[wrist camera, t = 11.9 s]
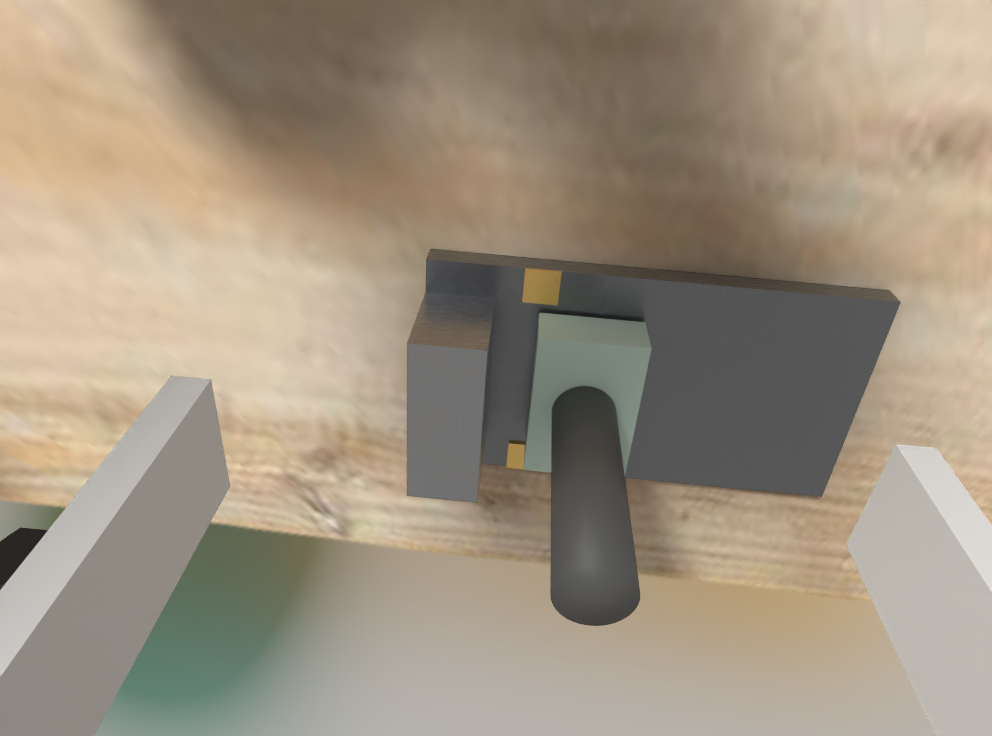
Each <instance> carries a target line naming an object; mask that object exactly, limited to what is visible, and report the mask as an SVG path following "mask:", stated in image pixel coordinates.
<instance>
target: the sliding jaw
mask: <svg viewBox="0 0 992 736" xmlns="http://www.w3.org/2000/svg"><path fill="white" fill-rule="evenodd" d="M651 350H652V348H651V344H650V339H649V335H648V331H647V327H646V323H645V322H636V321H625V320H614V319H603V318H592V317H581V316H571V315H560V314H549V313H539V320H538V329H537V338H536V347H535V356H534V365H533V374H532V383H531V392H530V401H529V410H528V419H527V428H526V437H525V452H524V470H529V471H539V472H550V473H551V600H552V603H553V605H554V607H555V608H556V610H557V611H558V612H559V613H560V614H561V615H563V616H564V617H565V618H567V619H569V620H571V621H573V622H577V623H579V624H584V625H594V626H599V625H608V624H612V623H615V622H618V621H620V620H622V619H624V618H626V617H627V616H629V615H630V614H631V613H632V612H633V611H634V610H635V609H636V607H637V605H638V603H639V600H640V589H639V581H638V573H637V566H636V558H635V551H634V543H633V535H632V528H631V520H630V513H629V505H628V497H627V490H626V482H625V473H626V469H627V464H628V459H629V454H630V450H631V445H632V440H633V435H634V430H635V426H636V421H637V416H638V411H639V407H640V402H641V397H642V392H643V388H644V383H645V378H646V373H647V369H648V364H649V359H650V354H651Z"/></svg>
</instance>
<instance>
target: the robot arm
mask: <svg viewBox="0 0 992 736" xmlns="http://www.w3.org/2000/svg"><path fill="white" fill-rule="evenodd" d="M229 487H230V483H229V477H228V471H227V466H226V460H225V455H224V449H223V443H222V438H221V432H220V427H219V421H218V415H217V410H216V404H215V399H214V393H213V388H212V382H211V379H201V378H191V377H180V376H171V377H170V378H169V379H168V381H167V382H166V383H165V384H164V386H163V387H162V388H161V389H160V391H159V392H158V393H157V395H156V396H155V397H154V398H153V400H152V401H151V402H150V403H149V405H148V406H147V407H146V408H145V410H144V411H143V412H142V413H141V415H140V416H139V417H138V418H137V420H136V421H135V422H134V423H133V425H132V426H131V427H130V428H129V430H128V431H127V432H126V433H125V435H124V436H123V437H122V438H121V440H120V441H119V442H118V443H117V445H116V446H115V447H114V448H113V450H112V451H111V452H110V453H109V455H108V456H107V457H106V458H105V460H104V461H103V462H102V463H101V465H100V466H99V467H98V468H97V470H96V471H95V472H94V473H93V475H92V476H91V477H90V478H89V480H88V481H87V482H86V483H85V485H84V486H83V487H82V488H81V490H80V491H79V492H78V494H77V495H76V496H75V497H74V499H73V500H72V501H71V502H70V504H69V505H68V506H67V507H66V509H65V510H64V511H63V512H62V514H61V515H60V516H59V517H58V519H57V520H56V521H55V522H54V524H53V525H52V526H51V527H50V529H49V530H39V529H29V528H20V529H18V530H16V531H15V532H13V533H12V534H10V535H9V536H7V537H6V538H5V539H3V540H2V541H1V542H0V736H94V735H95V733H96V731H97V729H98V727H99V725H100V724H101V722H102V720H103V718H104V716H105V715H106V713H107V711H108V709H109V707H110V705H111V703H112V702H113V700H114V698H115V696H116V694H117V693H118V691H119V689H120V687H121V685H122V683H123V682H124V680H125V678H126V676H127V674H128V672H129V670H130V669H131V667H132V665H133V663H134V661H135V659H136V658H137V656H138V654H139V652H140V650H141V649H142V647H143V645H144V643H145V641H146V639H147V637H148V636H149V634H150V632H151V630H152V628H153V626H154V625H155V623H156V621H157V619H158V617H159V615H160V614H161V612H162V610H163V608H164V606H165V604H166V603H167V601H168V599H169V597H170V595H171V593H172V592H173V590H174V588H175V586H176V584H177V582H178V581H179V579H180V577H181V575H182V573H183V571H184V570H185V568H186V566H187V564H188V562H189V560H190V559H191V557H192V555H193V553H194V551H195V549H196V547H197V546H198V544H199V542H200V540H201V538H202V537H203V535H204V533H205V531H206V529H207V527H208V526H209V524H210V522H211V520H212V518H213V516H214V515H215V513H216V511H217V509H218V507H219V505H220V504H221V502H222V500H223V498H224V496H225V494H226V493H227V491H228V489H229ZM846 546H847V548H848V551H849V553H850V555H851V557H852V559H853V561H854V563H855V566H856V568H857V570H858V572H859V574H860V576H861V578H862V581H863V583H864V585H865V587H866V589H867V591H868V593H869V595H870V598H871V600H872V602H873V604H874V606H875V608H876V610H877V612H878V615H879V617H880V619H881V621H882V623H883V625H884V628H885V630H886V632H887V633H888V636H889V638H890V640H891V642H892V645H893V647H894V649H895V651H896V653H897V655H898V657H899V660H900V662H901V664H902V666H903V668H904V670H905V672H906V675H907V677H908V679H909V681H910V683H911V685H912V687H913V689H914V692H915V694H916V696H917V698H918V700H919V702H920V704H921V706H922V709H923V711H924V713H925V715H926V717H927V719H928V722H929V724H930V726H931V728H932V730H933V732H934V734H935V736H992V525H991V524H990V522H989V521H988V520H987V518H986V517H985V515H984V514H983V513H982V511H981V510H980V508H979V507H978V506H977V504H976V503H975V501H974V500H973V499H972V497H971V496H970V494H969V493H968V492H967V490H966V489H965V488H964V486H963V485H962V483H961V482H960V481H959V479H958V478H957V476H956V475H955V474H954V472H953V471H952V469H951V468H950V467H949V465H948V464H947V462H946V461H945V460H944V458H943V457H942V455H941V454H940V453H939V451H938V450H937V449H936V448H931V447H921V446H910V445H899V444H896V445H895V447H894V449H893V451H892V453H891V455H890V457H889V459H888V461H887V463H886V465H885V467H884V469H883V471H882V473H881V475H880V477H879V479H878V481H877V483H876V485H875V487H874V489H873V491H872V493H871V495H870V497H869V499H868V501H867V503H866V506H865V508H864V510H863V512H862V514H861V516H860V518H859V520H858V522H857V524H856V526H855V528H854V530H853V532H852V534H851V536H850V538H849V540H848V542H847V544H846Z"/></svg>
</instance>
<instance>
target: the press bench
mask: <svg viewBox="0 0 992 736" xmlns="http://www.w3.org/2000/svg"><path fill="white" fill-rule="evenodd" d="M899 305H900V301H899V300H898V299H897V298H896V297H895V296H894V295H893V294H892V293H891V292H890V290H879V289H868V288H857V287H846V286H835V285H824V284H813V283H802V282H790V281H779V280H768V279H757V278H746V277H735V276H724V275H713V274H702V273H691V272H680V271H669V270H658V269H647V268H636V267H625V266H614V265H603V264H591V263H580V262H569V261H558V260H547V259H536V258H525V257H514V256H503V255H492V254H481V253H470V252H459V251H448V250H437V249H430V251H429V254H428V256H427V259H426V293H425V296H424V298H423V301H422V304H421V307H420V309H419V312H418V315H417V318H416V320H415V323H414V326H413V329H412V331H411V334H410V337H409V340H408V342H407V496H413V497H423V498H433V499H443V500H453V501H463V502H473V503H477V497H478V490H479V482H480V475H481V468H482V464H493V465H503V466H506V468H513V469H524V452H525V437H526V428H527V419H528V410H529V401H530V392H531V383H532V374H533V365H534V356H535V347H536V338H537V329H538V320H539V313H549V314H560V315H571V316H581V317H592V318H603V319H614V320H625V321H636V322H645V323H646V327H647V331H648V335H649V339H650V344H651V348H652V350H651V354H650V359H649V364H648V369H647V373H646V378H645V383H644V388H643V392H642V397H641V402H640V407H639V411H638V416H637V421H636V426H635V430H634V435H633V440H632V445H631V450H630V454H629V459H628V464H627V469H626V473H625V478H636V479H646V480H656V481H666V482H677V483H687V484H697V485H707V486H718V487H728V488H738V489H748V490H758V491H769V492H779V493H789V494H799V495H810V496H820V497H822V495H823V492H824V490H825V487H826V485H827V483H828V480H829V478H830V475H831V473H832V470H833V468H834V465H835V463H836V460H837V458H838V455H839V453H840V450H841V448H842V446H843V443H844V441H845V438H846V436H847V433H848V431H849V428H850V426H851V423H852V421H853V418H854V416H855V413H856V411H857V408H858V406H859V404H860V401H861V399H862V396H863V394H864V391H865V389H866V386H867V384H868V381H869V379H870V376H871V374H872V371H873V369H874V366H875V364H876V362H877V359H878V357H879V354H880V352H881V349H882V347H883V344H884V342H885V339H886V337H887V334H888V332H889V329H890V327H891V325H892V322H893V320H894V317H895V315H896V312H897V310H898V307H899Z"/></svg>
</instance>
